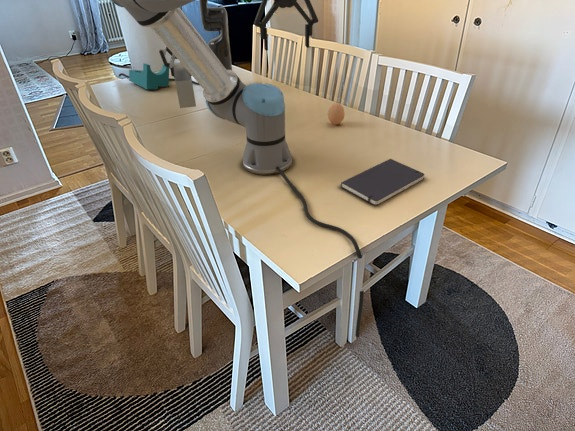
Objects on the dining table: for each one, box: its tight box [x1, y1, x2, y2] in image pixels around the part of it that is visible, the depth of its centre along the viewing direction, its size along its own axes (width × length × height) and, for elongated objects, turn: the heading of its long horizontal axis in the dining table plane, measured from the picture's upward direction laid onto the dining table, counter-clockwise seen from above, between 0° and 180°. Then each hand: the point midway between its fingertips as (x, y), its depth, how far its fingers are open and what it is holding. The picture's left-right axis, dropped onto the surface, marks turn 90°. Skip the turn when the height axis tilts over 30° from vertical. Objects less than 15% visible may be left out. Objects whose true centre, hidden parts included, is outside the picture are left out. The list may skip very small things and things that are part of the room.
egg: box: [327, 102, 345, 125], centre depth 147 cm, size 6×6×8 cm
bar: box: [173, 61, 197, 109], centre depth 148 cm, size 25×6×9 cm, turn 15°
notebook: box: [340, 158, 425, 206], centre depth 114 cm, size 13×2×21 cm
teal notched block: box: [128, 63, 170, 90], centre depth 189 cm, size 18×11×10 cm, turn 43°
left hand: (182, 76), depth 155 cm, fingers closed on bar, 5 cm apart
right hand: (286, 48), depth 132 cm, fingers open, 13 cm apart
